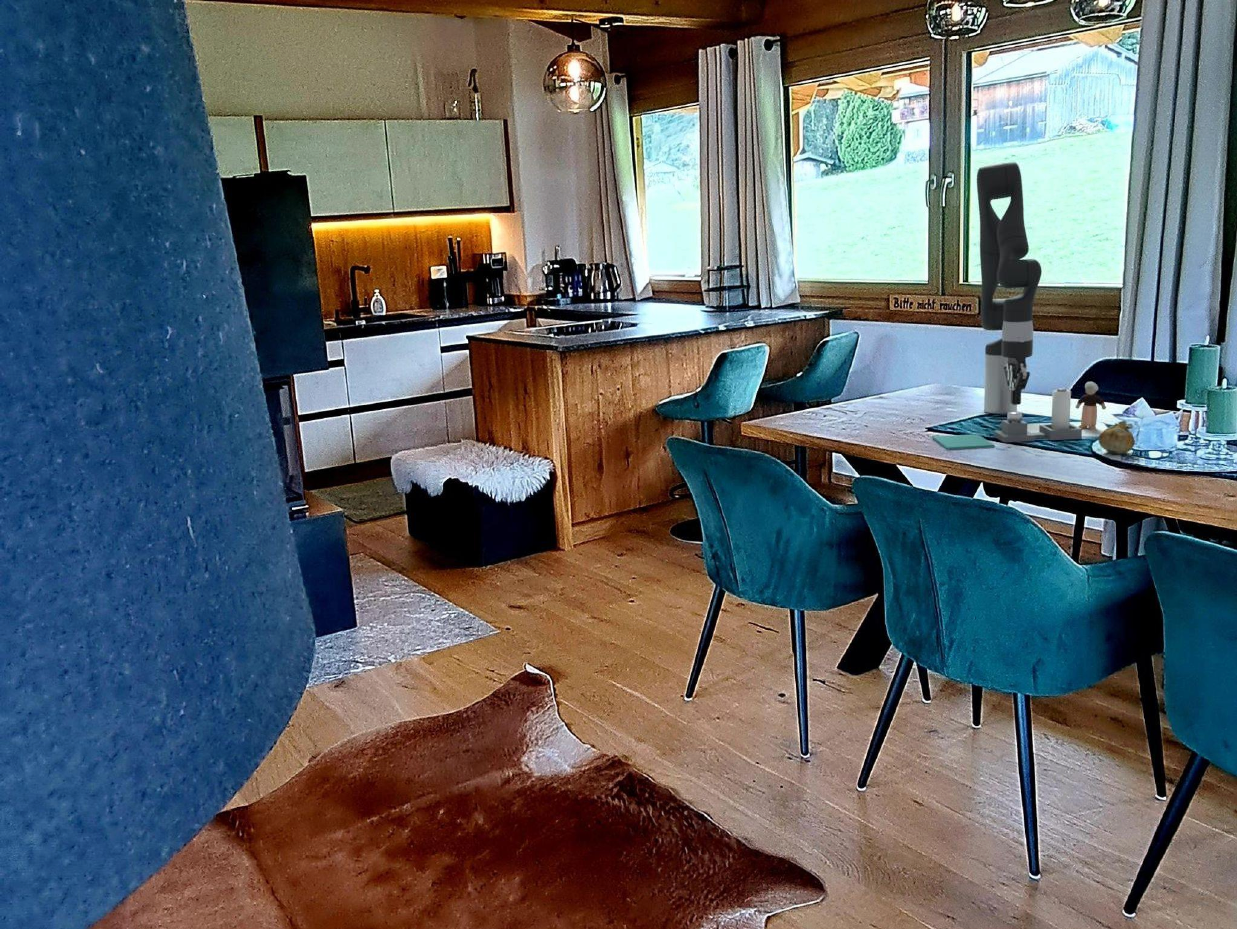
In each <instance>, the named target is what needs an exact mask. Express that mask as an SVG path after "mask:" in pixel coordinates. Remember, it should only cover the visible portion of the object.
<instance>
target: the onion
mask: <svg viewBox="0 0 1237 929" xmlns="http://www.w3.org/2000/svg"><path fill="white" fill-rule="evenodd" d="M1126 423H1127V421H1126V420H1122V421H1118V422H1117V423H1114V424H1112V425H1111V426H1109V427H1107V428H1106V429H1104V430H1103V431H1102V432H1101V433H1100V434H1099V435H1098V443H1099V446H1101V448H1102V450H1105V451H1106V452H1107V453H1110V454H1111V453H1113V455H1123V454H1127V453H1129V452H1130V451H1131V450H1132V449H1133V448H1134V446H1135V444H1136V440H1135V437H1134V436H1133V433H1132V432H1131V431H1130V430H1131V429H1133V428H1134V424H1133V423H1127V424H1126Z"/></svg>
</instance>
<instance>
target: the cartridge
mask: <svg viewBox="0 0 1237 929" xmlns="http://www.w3.org/2000/svg"><path fill="white" fill-rule="evenodd" d="M1051 396H1052V397H1051V399H1052V401H1051V402H1052V403H1051V423H1050V424H1051V429H1052V430H1060V429H1069V427H1070V424H1071V423H1070V420H1071V396H1072V391H1071V390H1070V389H1067V388H1063V387H1058V388H1056V389H1055V390H1052V395H1051Z"/></svg>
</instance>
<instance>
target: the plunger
mask: <svg viewBox="0 0 1237 929" xmlns="http://www.w3.org/2000/svg"><path fill="white" fill-rule="evenodd" d="M1006 414H1007V417H1006V420H1007V421H1011V423H1018V421H1022V420H1023V412H1022V411H1016V412H1008V413H1006Z"/></svg>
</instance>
